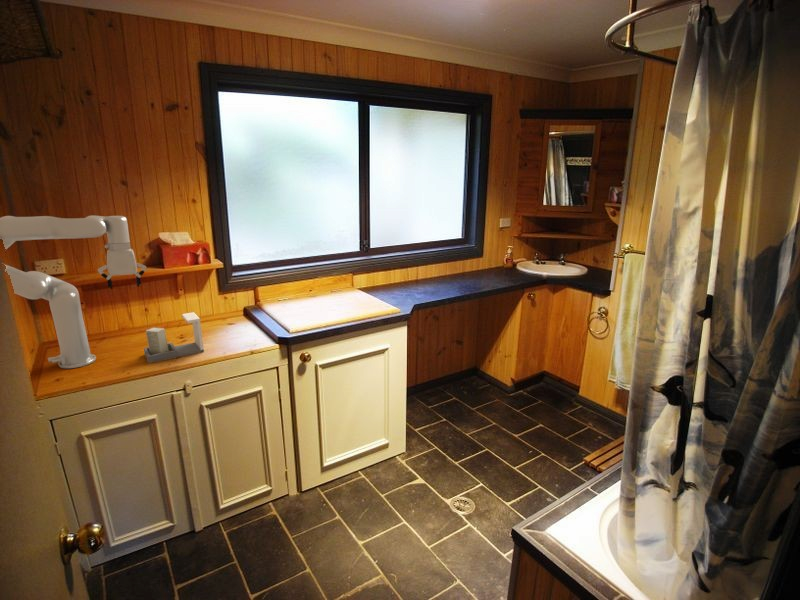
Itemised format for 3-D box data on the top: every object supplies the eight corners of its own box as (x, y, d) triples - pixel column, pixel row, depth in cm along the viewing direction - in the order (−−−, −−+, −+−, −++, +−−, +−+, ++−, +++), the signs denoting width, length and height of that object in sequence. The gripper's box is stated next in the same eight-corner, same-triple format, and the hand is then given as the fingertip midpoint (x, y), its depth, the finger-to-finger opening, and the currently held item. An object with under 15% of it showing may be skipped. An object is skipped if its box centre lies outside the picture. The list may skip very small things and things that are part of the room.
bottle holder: (148, 363, 185) (142, 328, 181) (144, 354, 194) (139, 321, 190) (204, 351, 197) (199, 318, 193) (198, 343, 206) (194, 312, 202)
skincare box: (169, 355, 194) (165, 328, 190) (161, 359, 189) (157, 331, 186) (157, 353, 195) (153, 326, 192) (149, 357, 191) (145, 330, 188)
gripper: (94, 249, 177) (100, 291, 182) (144, 246, 186) (149, 287, 191) (94, 246, 183) (100, 287, 188) (143, 244, 192) (147, 283, 197)
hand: (125, 287), depth 189 cm, fingers open, 9 cm apart
